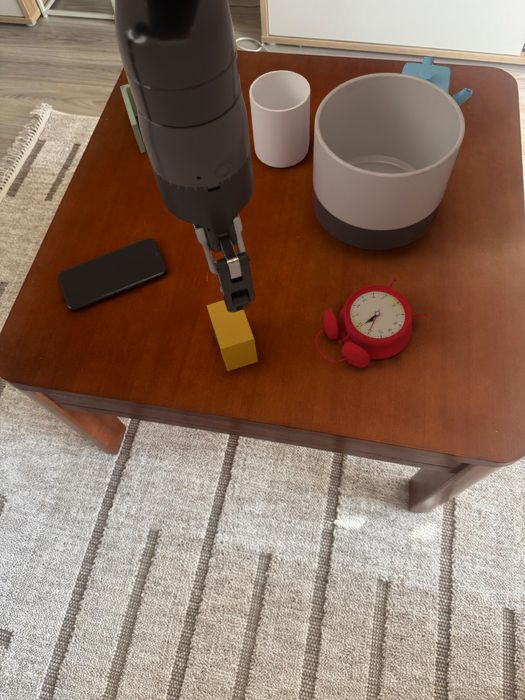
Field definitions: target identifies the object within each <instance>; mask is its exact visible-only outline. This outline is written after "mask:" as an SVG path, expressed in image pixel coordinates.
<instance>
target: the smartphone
mask: <svg viewBox="0 0 525 700" xmlns="http://www.w3.org/2000/svg"><path fill="white" fill-rule="evenodd" d="M167 272H168V268H167V265H166V263H165V260H164V258H163V256H162V253H161V252H160V249H159V246H158V245H157V242H156V240H155V239H154V238H152V237H147V238H143V239H141V240H138V241H136V242H133V243H131V244H128V245H126V246H123V247H120V248H118V249H116V250H113V251H109V252H107V253H104V254H102V255H100V256H97V257H94V258H92V259H90V260H86V261H84V262H82V263H79V264H76V265H74V266H71V267H69V268H66V269H63V270H61V271H60V272H59V273H58V276H57V279H58V282H59V285H60V289H61V292H62V294H63V298H64V301H65V304H66V307H67V309H68V310H69V311H72V312H76V311H79V310H82V309H84V308H87V307H89V306H91V305H94V304H96V303H99V302H101V301H104V300H107V299H109V298H112V297H114V296H117V295H120V294H121V293H124V292H127V291H129V290H132V289H134V288H137V287H139V286H142V285H144V284H147V283H149V282H152V281H154V280H157V279H160V278H161V277H164V276H165V275H166V274H167Z"/></svg>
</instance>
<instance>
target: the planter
mask: <svg viewBox="0 0 525 700" xmlns="http://www.w3.org/2000/svg"><path fill="white" fill-rule="evenodd" d="M451 96H452V95H450V94H448V93H447V92H446V91H445V90H443V89H442V88H440V87H439V86H437V85H435V84H434V83H432V82H429V81H427V80H425V79H422V78H419V77H415V76H412V75H407V74H401V73H400V72H375V73H369V74H364V75H361V76H357V77H354V78H351V79H349V80H347V81H345V82H343V83H341V84H339V85H338V86H336V87H334V89H332V90H331V91H330V92H329V93H327V95H325V97H324V98H323V99H322V100H321V102H320V104H319V105H318V108H317V109H316V113H315V116H314V129H313V130H314V132H313V135H314V136H313V164H312V193H311V194H312V197H311V200H312V201H311V204H312V210H313V212H314V215H315V217H316V220H317V221H318V222H319V224H320V225H321V227H322V228H323V229H324V230H325V231H326V232H327V233H328V234H330V235H331V236H332V237H334V238H335V239H337V240H338V241H340V242H342V243H344V244H346V245H349V246H352V247H355V248H359V249H363V250H364V249H365V250H373V251H375V250H376V251H380V250H381V251H383V250H385V251H386V250H391V249H396V248H400V247H404V246H406V245H408V244H409V245H410V243H413V242H414V241H416V240H418V239H419V238H421V237H422V236H423V235H425V233H427V232H428V230H429V229H430V228H431V227H432V226H433V224H434V222H435V220H436V218H437V215H438V213H439V211H440V207H441V204H442V202H443V198H444V196H445V193H446V189H447V187H448V184H449V181H450V179H451V175H452V173H453V169H454V167H455V164H456V161H457V158H458V155H459V152H460V150H461V146H462V144H463V141H464V139H465V138H464V137H465V133H466V122H465V116H464V114H463V110H462V109H461V107H460V106H459V105H458V104H457V103H456V101H455V100H454V99H453V98H452V97H451Z"/></svg>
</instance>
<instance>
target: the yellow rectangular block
mask: <svg viewBox="0 0 525 700" xmlns="http://www.w3.org/2000/svg"><path fill="white" fill-rule="evenodd" d="M206 308H207V311H208V315H209V318H210V322H211V325H212V328H211V329H212V332H213V335H214V338H215V342H216V345H217V347H218V351H220V354H221V356H222V359H223V362H224V365H225V366H224V367H225V369H226V371H227V372H230V371H233V370H236V369H239V368H243V367H246V366H249V365H252V364H255V363H258V362H259V360H258V354H257V347H256V341H255V337H254V334H253V332H252V328H251V326H250V323H249V320H248V317H247V315H246V312H245V309H244V310H241V311H237V312H234V313H233V312H228V311H227V308H226V305H225V302H224V299H222V300H220V301H216V302H213V303H210V304H207V305H206Z"/></svg>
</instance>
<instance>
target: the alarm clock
mask: <svg viewBox="0 0 525 700" xmlns="http://www.w3.org/2000/svg"><path fill="white" fill-rule="evenodd" d="M396 281H397V278H396V277H394V278H392V282H391V283H390V284H389V286H386V285H382V284H371V285H366V286H363V287H360V288H359V289H357V290H355V291H354V292H353V293H352V294H351V295H350V296H349V297H348V298H347V300H346V302H345V303H344V305H343V307H342V308H341V310H340V312H339V315H338V318H337V319H336V316H335V313H334V310H333V309H332V308H329V309H327V310H325V311H324V313H323V314H322V324H320V326H319V327H320V328H321V330H320V331H319V332H318V333H317V335H316V337H315V340H314V343H315V346H316V349H317V350H318V352H319V354H320V355H321V356H322V357H323V358H324V359H325V360H326V361H328V362H330V363H332V364H338V363H341V362H344V361H347V362H348V364H349V365H352V366H355V367H357V368H365V367H367V366H368V365H369V364H370V363H371V360H383V359H384V360H385V359H388V358H392V357H394V356H395V355H398V354H399V353H400V352H402V351H403V350H404V349H406V347H407V345H408V344H409V342H410V340H411V338H412V336H413V335H412V334H413V318H419V317H425V318H428V317H429V314H428V313H425V314H413V312H412V307H411V306H410V303H409V301H408V300H407V298H406V297H405V296H404V295H403V294H402V293H400V291H398V290H396V289H394V288H392V287H393V285H394V283H395V282H396ZM324 332H325V334H326V336H327V337H328V339H330V340H337V339H338V338H340V339H339V340H338V341H337V342H338V343H339V345H341V344H342V343H343V346H342V347H341V354H342V356H343V357H344V358H342V359H339V360H333V359H331V358H328V357H327V356H326V355H325V354H324V353H323V352H322V350H321V349H320V347H319V344H318V338H319V336H320V335H322V333H324Z"/></svg>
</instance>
